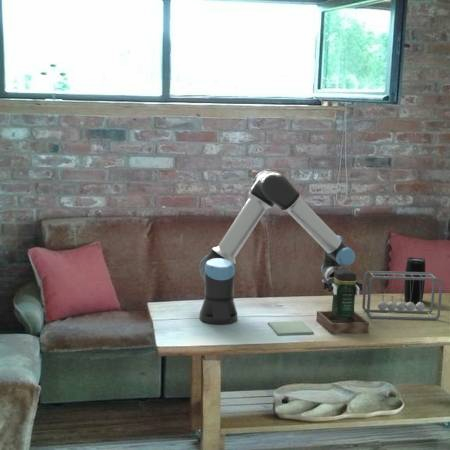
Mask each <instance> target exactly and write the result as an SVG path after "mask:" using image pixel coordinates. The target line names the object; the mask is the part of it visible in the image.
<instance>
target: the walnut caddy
mask: <svg viewBox="0 0 450 450" xmlns="http://www.w3.org/2000/svg"><path fill="white" fill-rule="evenodd" d="M315 321H316V322H317V323H318V324H319V325H320V326H322V328H323V329H325V330H326V331H327V332H328V333H329V335H349V334H350V335H352V334H368V333H369V330H370V322H369V321H367V320H366V319H365V318H364V317H362V316H361V315H359V313H357V312H356V311H354V317H353V318H348V319H343V318H337V317H335V316H334V315H333V314H332V310H317V311H316V319H315ZM339 321H340V322H339ZM341 321H343V322H341ZM344 321H345V322H344ZM346 321H350V322H346ZM333 322H335V323H333ZM337 322H338V323H337Z"/></svg>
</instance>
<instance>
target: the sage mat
mask: <svg viewBox="0 0 450 450" xmlns="http://www.w3.org/2000/svg"><path fill="white" fill-rule="evenodd" d="M267 325H268V326H269V327H270V328H271V329H272V331H273V332H274V333H275V334H276V335H277V336H292V335H293V336H294V335H295V336H296V335H297V336H298V335H314V331H313V330H312V329H311V328H310V326H308V325H307V324H306V323H305V322H304V321H303V320H287V321H285V320H284V321H282V320H281V321H268V322H267Z"/></svg>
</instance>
